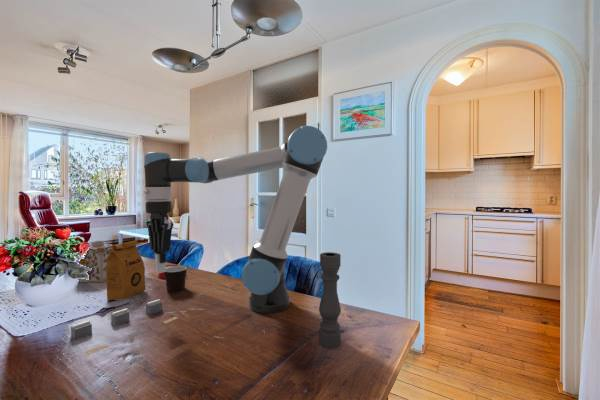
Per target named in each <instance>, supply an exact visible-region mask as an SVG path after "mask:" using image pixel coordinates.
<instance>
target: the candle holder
mask: <svg viewBox="0 0 600 400" xmlns="http://www.w3.org/2000/svg"><path fill="white" fill-rule="evenodd" d="M341 258H342V257H341V253H337V252H330V251H329V252H326V251H325V252H322V253H320V254H319V266H320V269H321V271H322V273H321V275H320V278H321V280H322V290H323V291H322V294H321V298H320V301H319V307H318V311H319V314H320V317H321V320H322V321H321V322H320V324H319V329H318V344H319V345H320V346H321V347H322V348H326V349H335V348H338V347H339V346H341V343H342V341H341V340H342V332H341V331H342V330H341V329H340V328H341V326H340V323H339V321H338V320H339V316H340V315H341V313H342V309H341V305H340V299H339V295H338V281H339V280H340V275H339V274H338V273H339V270H340V268H341V265H342V263H341Z"/></svg>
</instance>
